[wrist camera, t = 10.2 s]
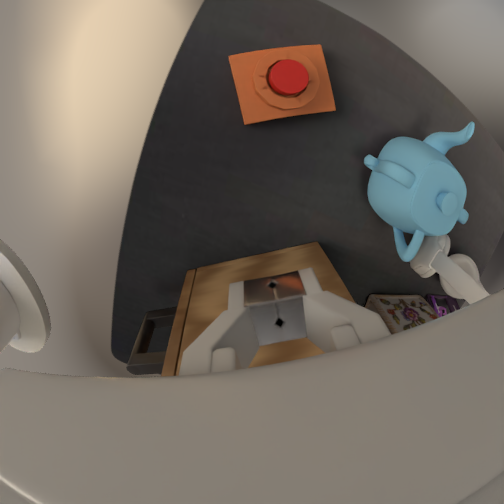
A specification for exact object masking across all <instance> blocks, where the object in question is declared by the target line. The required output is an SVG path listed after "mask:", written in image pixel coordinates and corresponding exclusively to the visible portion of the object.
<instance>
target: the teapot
mask: <svg viewBox="0 0 504 504" xmlns="http://www.w3.org/2000/svg"><path fill="white" fill-rule="evenodd" d="M474 127H475V125H474V122H470V123H469V124H468V125H467V126H466V127H465V128H464V129H463V130H461V131H459V132H437V133H433V134H431V135H429V136H428V137H427V138H426V139H425V140H424V141H420V140H417V139H414V138H410V137H396V138H393V139H391V140H390V141H388V142H387V144H386V145H385V146H384V147H383V149H382V150H381V152H380V154H379V156H378V158H375V157H373V156H372V155H370V154H369V155H367V156H366V157H365V158H364V164H365V165H366V166H367V167H368V168H370V169H371V170H372V173H371V176H370V179H369V183H368V191H367V194H368V199H369V203H370V205H371V206H372V208H373V210H374V211H375V212H376V213H377V214H378V216H379V217H380V218H382V219H383V220H384V221H385V222H387V223H388V224H390V225H391V226H393V230H394V238H395V244H396V249H397V252H398V255H399V257H400V258H401V259H402V260H403V261H405V262H409V261H411V260H412V259H413V258H414V257H415V255H416V254H417V252H418V250H419V248H420V246H421V243H422V241H423V238H424V236H441V235H445V234H447V233H449V232H450V231H451V229H452V228H453V227H454V225H455V223H456V221H458V222H460V223H461V224H465V223H466V221H467V220H468V216H469V215H468V212H467V211H466V210H464V209H463V206H464V203H465V199H466V194H467V190H466V185H465V182H464V180H463V179H462V177H461V175H460V174H459V172H458V171H457V170H456V169H455V167H454V166H453V165H452V164H451V162H450V161H449V160H448V159H447V158H446V157H445V154H446V152H447V151H448V150H449V149H450V148H451V147H453V146H457V145H461V144H464V143H466V142H467V141H468V140H469V139H470V138H471V136H472V134H473V132H474ZM403 231H404V232H406V233H410V234H414V235H413V237H412V240H411V242H410V244H409V245H408V246H407V244H406V242H405V239H404V235H403Z"/></svg>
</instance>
